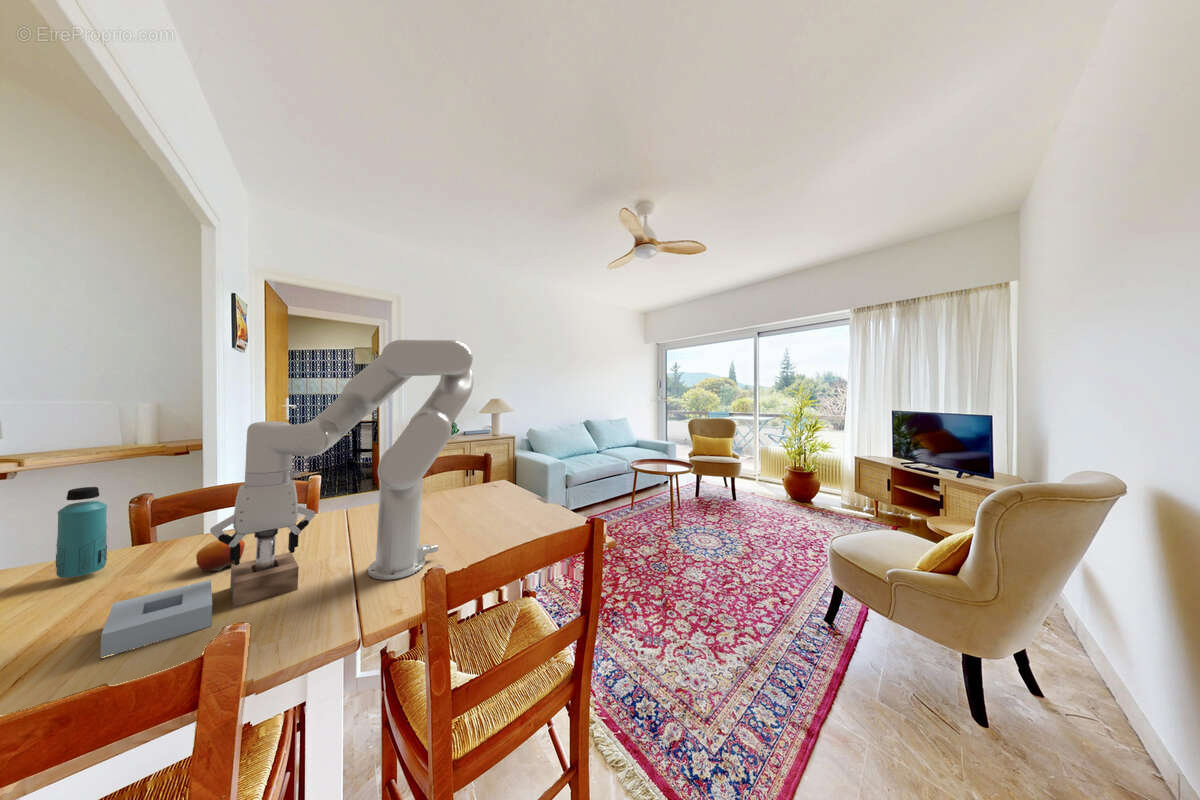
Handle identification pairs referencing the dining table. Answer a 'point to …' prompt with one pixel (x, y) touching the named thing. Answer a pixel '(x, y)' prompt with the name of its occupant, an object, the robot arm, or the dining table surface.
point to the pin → (265, 549)
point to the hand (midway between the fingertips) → (265, 556)
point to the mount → (263, 580)
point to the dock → (157, 617)
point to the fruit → (216, 556)
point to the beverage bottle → (81, 535)
